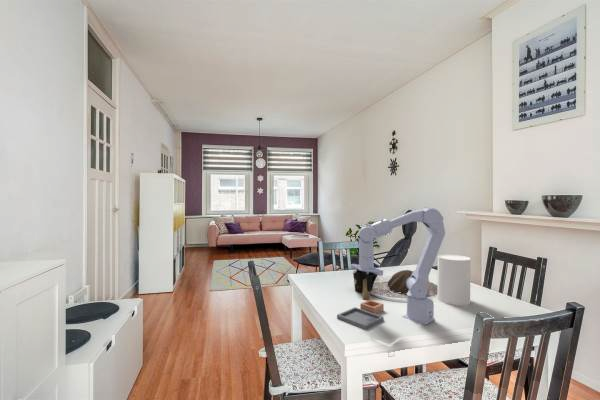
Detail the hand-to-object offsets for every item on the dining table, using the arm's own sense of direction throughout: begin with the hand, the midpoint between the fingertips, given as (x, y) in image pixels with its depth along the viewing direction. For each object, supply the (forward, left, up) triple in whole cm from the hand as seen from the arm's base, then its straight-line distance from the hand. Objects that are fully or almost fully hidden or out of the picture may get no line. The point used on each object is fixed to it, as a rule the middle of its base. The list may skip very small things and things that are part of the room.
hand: (366, 289), depth 121 cm
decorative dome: (+6, -44, -11) cm, 46 cm away
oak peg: (0, 0, -4) cm, 4 cm away
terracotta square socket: (+1, -5, -11) cm, 12 cm away
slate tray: (-1, +6, -11) cm, 12 cm away
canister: (-17, -44, -11) cm, 49 cm away
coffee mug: (+20, -24, -11) cm, 33 cm away
